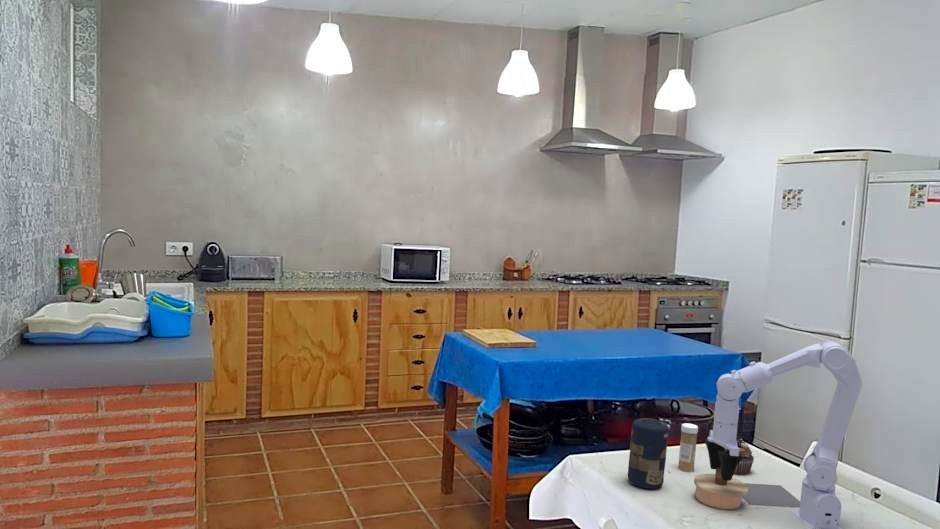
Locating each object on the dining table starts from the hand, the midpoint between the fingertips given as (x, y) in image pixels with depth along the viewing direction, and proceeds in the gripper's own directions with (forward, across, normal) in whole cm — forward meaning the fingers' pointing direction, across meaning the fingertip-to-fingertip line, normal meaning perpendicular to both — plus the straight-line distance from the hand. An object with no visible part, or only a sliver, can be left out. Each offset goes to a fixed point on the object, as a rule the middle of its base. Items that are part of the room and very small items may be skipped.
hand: (720, 474), depth 181 cm
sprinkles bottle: (+8, -22, -1) cm, 23 cm away
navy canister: (+8, -10, -16) cm, 20 cm away
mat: (+7, -6, +15) cm, 18 cm away
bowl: (+8, 0, 0) cm, 8 cm away
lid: (+3, 0, 0) cm, 3 cm away
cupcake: (+8, -24, +14) cm, 29 cm away
